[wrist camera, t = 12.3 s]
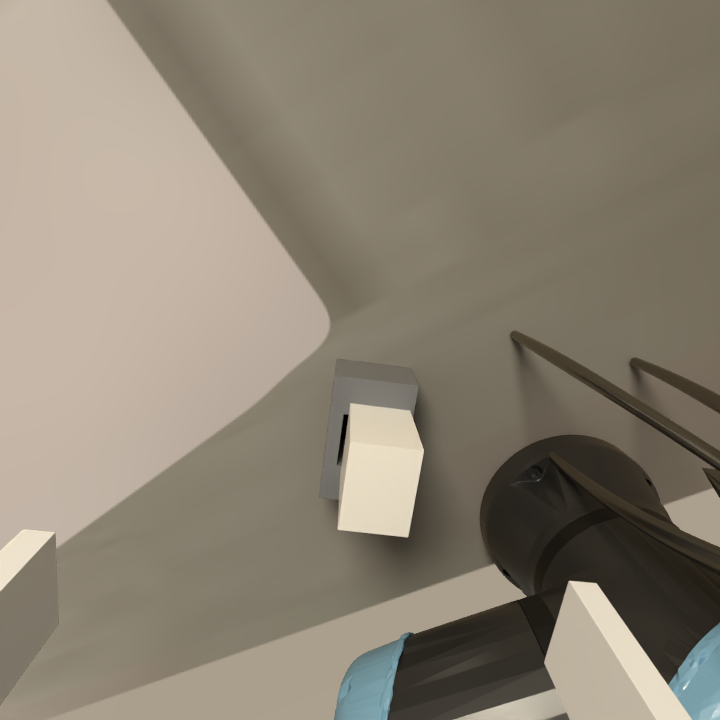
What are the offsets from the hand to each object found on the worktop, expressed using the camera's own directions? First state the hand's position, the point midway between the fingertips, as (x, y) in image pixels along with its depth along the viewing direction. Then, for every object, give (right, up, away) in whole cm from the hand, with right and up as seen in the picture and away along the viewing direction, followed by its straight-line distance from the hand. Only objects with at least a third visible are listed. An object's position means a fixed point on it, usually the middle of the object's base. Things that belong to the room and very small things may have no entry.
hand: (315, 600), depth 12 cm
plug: (+2, +1, +29) cm, 29 cm away
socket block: (+2, +1, +29) cm, 29 cm away
